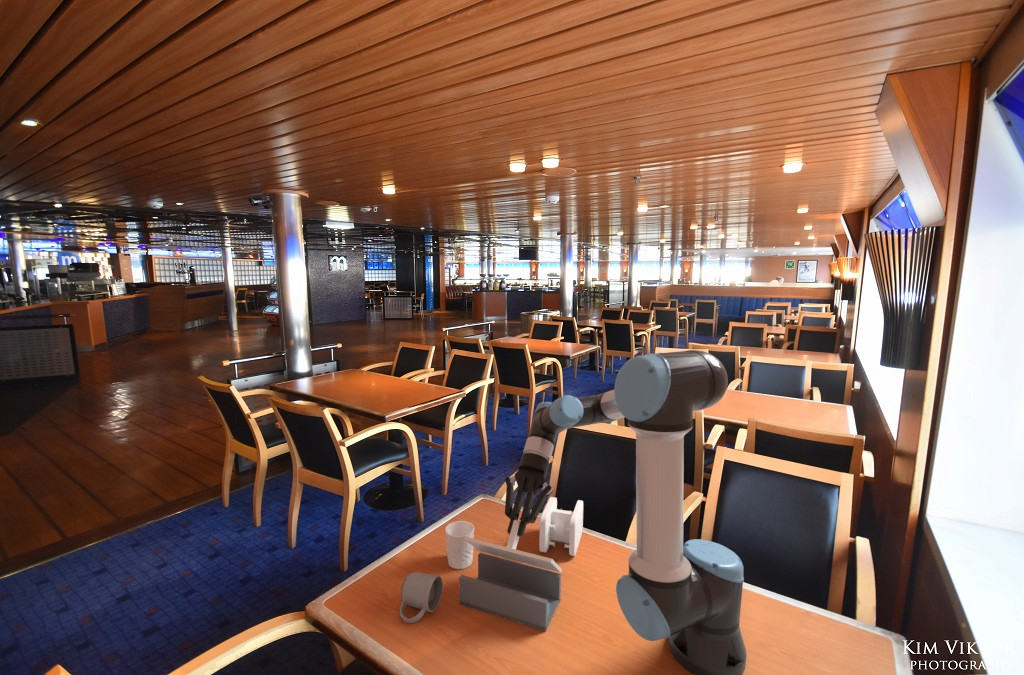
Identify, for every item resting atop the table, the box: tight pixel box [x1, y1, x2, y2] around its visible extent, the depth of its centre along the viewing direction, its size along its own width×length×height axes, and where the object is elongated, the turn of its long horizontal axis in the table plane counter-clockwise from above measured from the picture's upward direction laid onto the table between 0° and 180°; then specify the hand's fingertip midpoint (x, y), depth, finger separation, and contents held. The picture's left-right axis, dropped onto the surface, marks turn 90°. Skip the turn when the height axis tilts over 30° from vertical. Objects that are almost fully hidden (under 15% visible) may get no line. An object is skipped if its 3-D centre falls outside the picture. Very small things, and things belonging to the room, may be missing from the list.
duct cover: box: [465, 537, 563, 574], centre depth 115 cm, size 22×11×1 cm
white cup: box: [444, 520, 475, 570], centre depth 130 cm, size 8×8×10 cm
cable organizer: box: [537, 496, 584, 557], centre depth 138 cm, size 15×11×12 cm
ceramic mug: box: [399, 571, 444, 624], centre depth 112 cm, size 11×8×8 cm
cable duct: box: [458, 551, 562, 632], centre depth 114 cm, size 22×11×7 cm, turn 67°
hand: (510, 549), depth 113 cm, fingers closed
